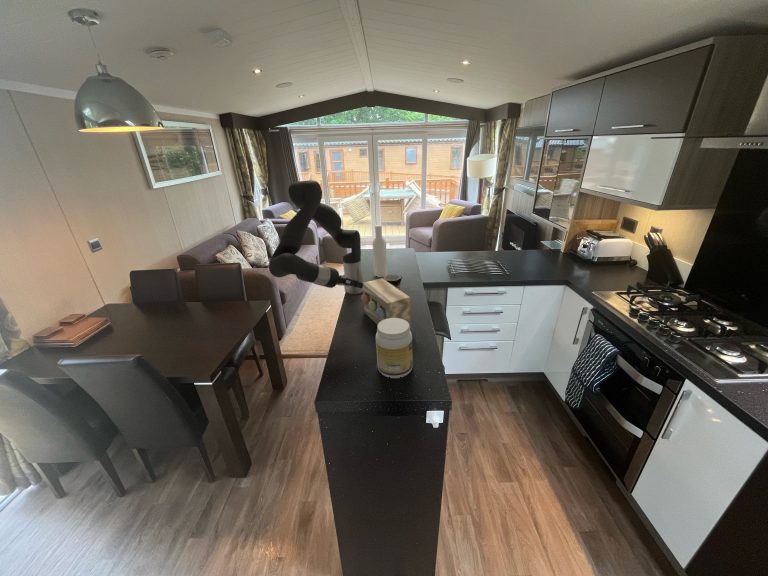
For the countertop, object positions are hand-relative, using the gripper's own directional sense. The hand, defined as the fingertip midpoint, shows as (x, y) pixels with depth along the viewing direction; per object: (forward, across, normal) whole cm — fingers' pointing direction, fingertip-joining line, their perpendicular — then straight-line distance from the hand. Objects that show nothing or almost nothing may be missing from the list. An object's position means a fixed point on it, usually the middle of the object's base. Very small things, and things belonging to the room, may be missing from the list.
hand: (355, 284), depth 127 cm
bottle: (+49, +36, -11) cm, 61 cm away
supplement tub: (+2, -29, +26) cm, 39 cm away
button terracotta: (+12, +4, +7) cm, 14 cm away
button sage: (+10, -3, +9) cm, 14 cm away
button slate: (+8, -10, +11) cm, 17 cm away
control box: (+18, -4, +12) cm, 23 cm away
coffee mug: (+37, +10, 0) cm, 39 cm away
